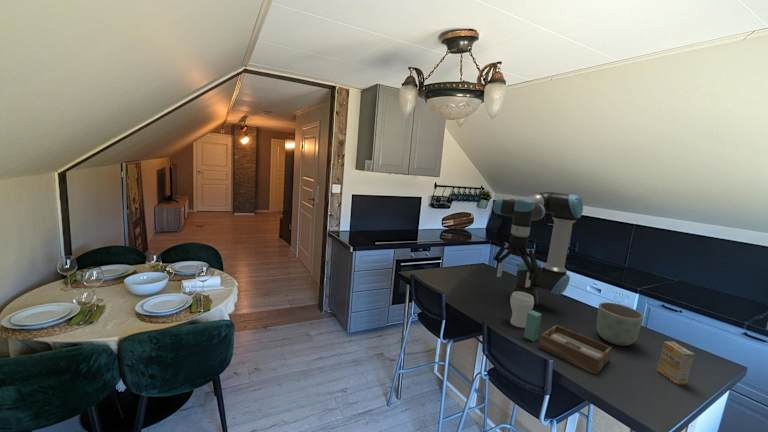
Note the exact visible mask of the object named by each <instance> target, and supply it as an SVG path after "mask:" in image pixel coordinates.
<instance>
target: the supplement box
mask: <svg viewBox="0 0 768 432" xmlns="http://www.w3.org/2000/svg"><path fill="white" fill-rule="evenodd" d="M694 358H695V353H694V352H692V351H690V350H688V349H687V348H685V347H684V346H682V345H680V344H679V343H677V342H675V341H663V345H662V349H661V353H660V357H659V361H658V366H657V369H656V371H657V373H659V372H660V374H661V375H662V374H663V375H662V376H664V377H665V376H666V377H665V378H667V379H668V378H669V380H670V381H671V382H672V381H673V382H672V383H673V384H675V383H676V384H675V385H687V383H688V380H689V377H690V374H691V373H690V372H691V369H692V366H693V362H694V360H695V359H694Z"/></svg>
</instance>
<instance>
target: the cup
mask: <svg viewBox="0 0 768 432" xmlns="http://www.w3.org/2000/svg"><path fill="white" fill-rule="evenodd" d="M509 300H510V301H509V304H510V308H511V311H512V312H511V318H510V320H509V321H510V324H511V325H512V326H514V327H517V328H522V329H523V328H524V329H525V326H526V320H527V313H528V312H530V311H532V310H533V309H534V307H535V306H534V298H533V296H532V295H530V294H528V293H524V292H513V293H512V296H511V299H509Z"/></svg>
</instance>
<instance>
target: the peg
mask: <svg viewBox="0 0 768 432" xmlns="http://www.w3.org/2000/svg"><path fill="white" fill-rule="evenodd" d="M542 315H543V314H542V313H540V312H538V311H535V310H533V309H532V310H531V311H530V312H528V313H527V320H526V326H525V327H524V332H523V333H524V334H523V338H525V339H527V340H530V341H531V342H535V341H536V340H538V338H539V333H540V326H541V320H542Z"/></svg>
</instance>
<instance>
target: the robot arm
mask: <svg viewBox="0 0 768 432" xmlns="http://www.w3.org/2000/svg"><path fill="white" fill-rule="evenodd" d="M492 210H493V213H495V214H496V215H500V216H506V217H512V223H511V228H510V233H511V234H510V235H509V243H508V242H507V241H505V242H502V243H501V247H500V248H499V249H498V251H497V253H496V254H495V255H494V257H493V261H496V267H495V268H496V270H497V271H496V277H497V278H500V277H502V275H503V267H504V262H503V261H504V260H505V259H507V258H509V257H510V255H512V256H516V257H518V258H520V259H522V262H519V263H518V264H517V265H518V266H517V268H516V275H515V284H514V286H513V289H512V290H511V292H510V295H509V298H510V299H511V296H512V293H513V292H524V293H528V294H530V295H532V296H533V298H534V306H533V307H535V306H537V305H538V303H539V298H538V294H537V293H538V292H537V289H540V290H544V291H546V292H549V293H551V294H556V295H562V294H564V293H565V291H566V290H567V288H568V286H569V283H570V280H571V279H570V274H567V273H568V271H567V268H565V266H566V259H567V255H568V250H569V243H570V239H571V234H572V233H571V232H572V228H573V224H574V223H576V222H577V220H578V219H580V218H581V217H582V214H583V212H584V211H583V210H584V203H583V199H582V197H581V196H580V195H577V194H572V193H562V192H554V191H544V192H543V191H542V192H538V193H537V192H536V193H532V194H530V195H528V196H523V197H516V198H510V199H504V198H496V200H495V201H494V202H493V207H492ZM546 214H551V218H552V220H553V226H552V232H551V233H552V234H551V237H550V244H549V250H548V253H547V254H548V255H547V260H546V263H545V264H544V265H543V266H541V264H540V263H539V262H538V261H537V259H536V256H535V255H536V254H535V249H534V248H531V249H530V248H528V244H529V239H530V237H529V236H530V235H531V234H530V233H531V226H532V221H539V220H541V219H543V217H545V215H546ZM507 248H508V250H507V251H506V253H504V252H505V250H506V249H507ZM503 253H504V254H503ZM527 254H528V255H527ZM528 256H529V258H528ZM510 299H509V300H510Z"/></svg>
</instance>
